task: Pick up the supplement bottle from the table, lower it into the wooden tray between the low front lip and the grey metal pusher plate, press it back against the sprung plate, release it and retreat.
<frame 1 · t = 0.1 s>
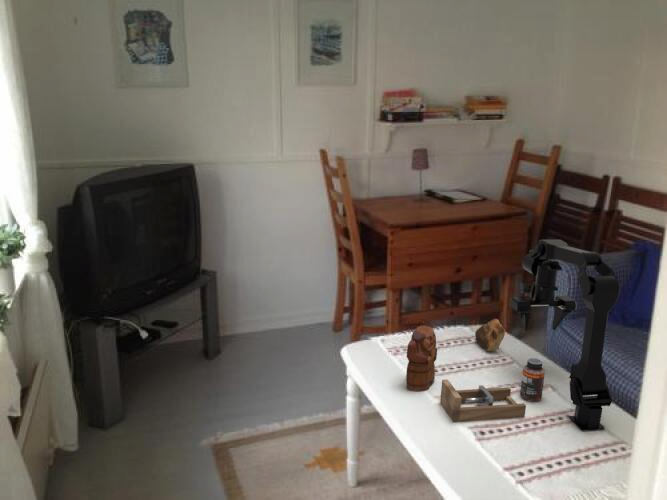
hand: (539, 330, 179), 15 cm above the table, tool pointing down, fingers open, 9 cm apart
wooden tray: (481, 409, 162), on the table
pusher: (476, 400, 161), point 3 cm above the table, slide at 0.0 cm
wooden figurine: (420, 384, 175), on the table
decorative rock: (488, 348, 201), on the table
supplement bottle: (530, 397, 169), on the table
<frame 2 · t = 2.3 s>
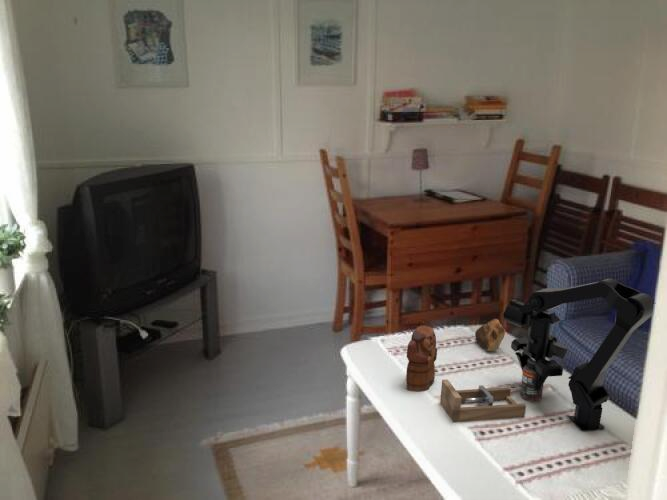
hand: (532, 384, 168), 4 cm above the table, tool pointing down, fingers closed on supplement bottle, 6 cm apart
supplement bottle: (530, 397, 169), on the table, touching gripper
everything else where it was.
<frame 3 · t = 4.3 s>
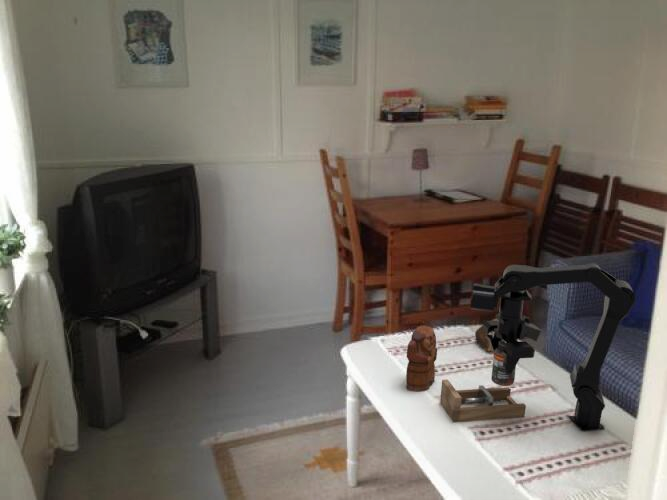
hand: (504, 368, 159), 12 cm above the table, tool pointing down, fingers closed on supplement bottle, 6 cm apart
supplement bottle: (502, 382, 160), point 8 cm above the table, touching gripper
everything else where it was.
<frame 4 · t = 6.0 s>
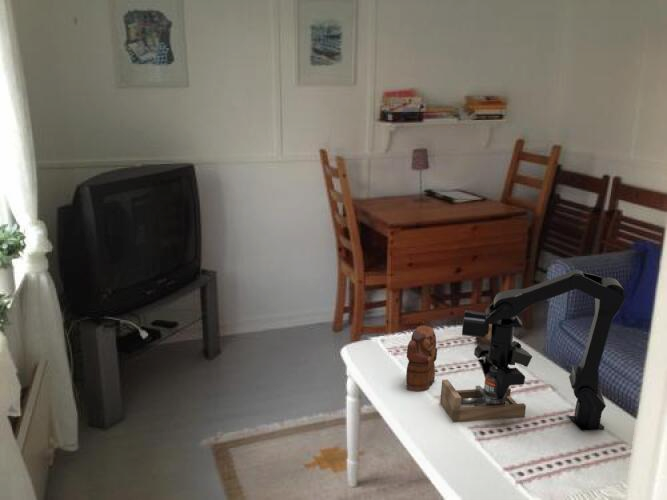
hand: (495, 392, 161), 5 cm above the table, tool pointing down, fingers closed on supplement bottle, 6 cm apart
pusher: (473, 400, 160), point 3 cm above the table, slide at 0.9 cm
supplement bottle: (493, 407, 162), point 1 cm above the table, touching gripper
everything else where it was.
when the fingers open (5 cm above the table, at t = 6.2 s): supplement bottle stays where it is, resting in wooden tray.
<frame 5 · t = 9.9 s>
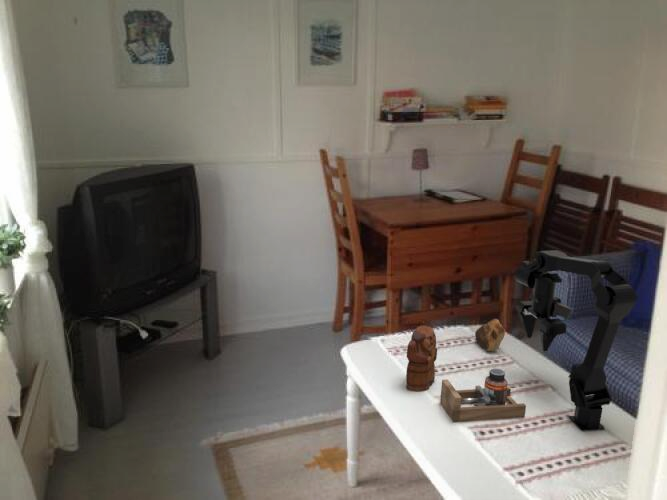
hand: (537, 344, 173), 13 cm above the table, tool pointing down, fingers open, 9 cm apart
supplement bottle: (493, 409, 162), resting in wooden tray
everything else where it was.
at the end: supplement bottle inside the target area on the wooden tray (1.6 cm from its centre), point 0.0 cm above the wooden tray's base; supplement bottle tilted 0°; pusher slide at 0.9 cm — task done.
